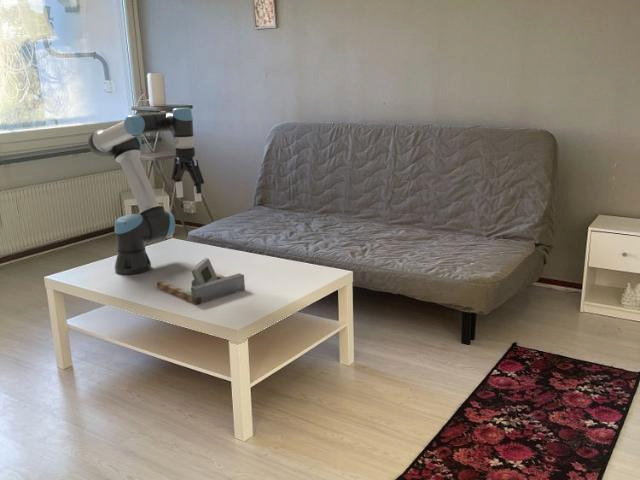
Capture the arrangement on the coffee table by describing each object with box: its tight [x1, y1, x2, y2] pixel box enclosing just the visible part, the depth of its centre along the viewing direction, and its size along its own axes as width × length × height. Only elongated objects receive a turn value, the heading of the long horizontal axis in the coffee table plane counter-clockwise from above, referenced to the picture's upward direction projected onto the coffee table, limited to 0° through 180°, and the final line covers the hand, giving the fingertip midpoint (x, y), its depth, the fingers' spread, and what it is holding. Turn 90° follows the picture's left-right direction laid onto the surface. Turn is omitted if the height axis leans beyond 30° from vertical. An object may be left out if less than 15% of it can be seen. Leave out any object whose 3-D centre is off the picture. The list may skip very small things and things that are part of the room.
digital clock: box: [190, 257, 218, 287], centre depth 246 cm, size 16×9×11 cm, turn 160°
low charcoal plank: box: [190, 272, 246, 305], centre depth 238 cm, size 3×22×6 cm, turn 134°
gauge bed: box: [156, 272, 246, 305], centre depth 247 cm, size 28×22×3 cm
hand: (189, 199), depth 260 cm, fingers open, 13 cm apart
